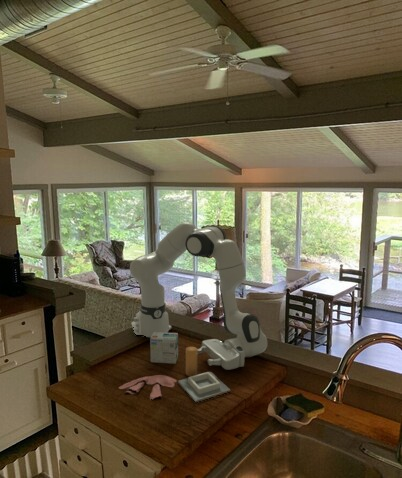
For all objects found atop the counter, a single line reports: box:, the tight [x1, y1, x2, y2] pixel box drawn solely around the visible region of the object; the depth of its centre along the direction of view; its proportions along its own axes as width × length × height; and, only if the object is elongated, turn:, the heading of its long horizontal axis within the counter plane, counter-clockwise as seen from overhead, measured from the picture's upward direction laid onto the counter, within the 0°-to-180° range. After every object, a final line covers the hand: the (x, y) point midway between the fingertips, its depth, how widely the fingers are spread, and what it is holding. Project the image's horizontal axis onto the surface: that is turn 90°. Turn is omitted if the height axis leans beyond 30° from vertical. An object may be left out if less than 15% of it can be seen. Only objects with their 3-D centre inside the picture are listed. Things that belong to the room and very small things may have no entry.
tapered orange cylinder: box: [185, 346, 198, 377], centre depth 148 cm, size 4×4×10 cm
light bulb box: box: [149, 332, 179, 365], centre depth 159 cm, size 11×7×11 cm, turn 84°
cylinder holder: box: [177, 371, 231, 403], centre depth 139 cm, size 14×14×3 cm
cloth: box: [118, 374, 178, 400], centre depth 138 cm, size 20×22×2 cm
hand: (202, 357), depth 150 cm, fingers open, 8 cm apart
